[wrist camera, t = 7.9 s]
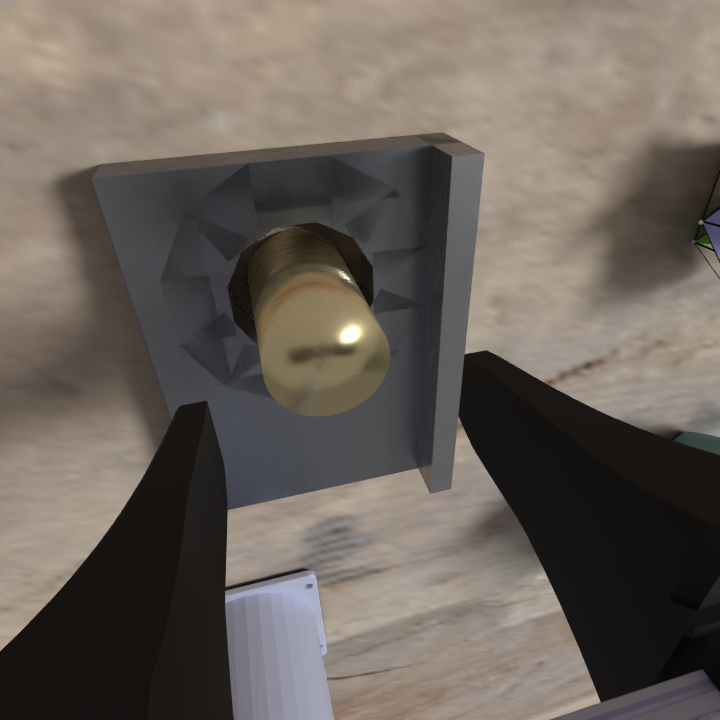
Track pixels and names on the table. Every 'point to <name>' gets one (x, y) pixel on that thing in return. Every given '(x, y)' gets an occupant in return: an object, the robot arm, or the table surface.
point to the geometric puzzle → (710, 230)
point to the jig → (380, 289)
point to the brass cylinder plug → (313, 326)
